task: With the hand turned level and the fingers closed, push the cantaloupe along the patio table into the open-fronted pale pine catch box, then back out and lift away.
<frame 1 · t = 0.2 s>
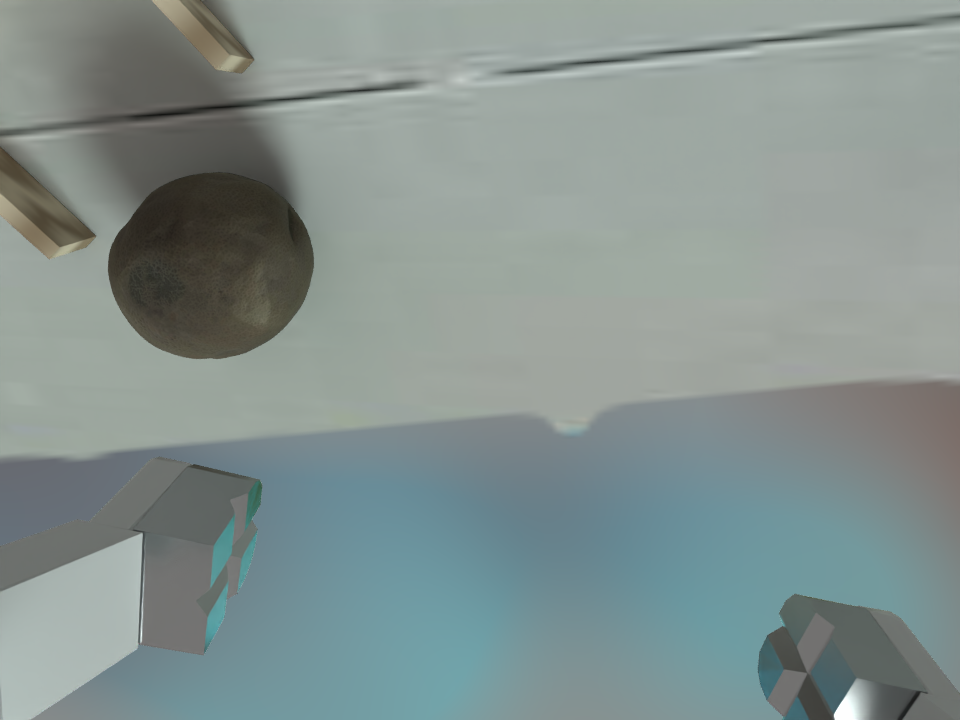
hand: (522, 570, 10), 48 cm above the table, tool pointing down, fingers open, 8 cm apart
cantaloupe: (255, 246, 57), on the table
catch box: (78, 71, 52), on the table
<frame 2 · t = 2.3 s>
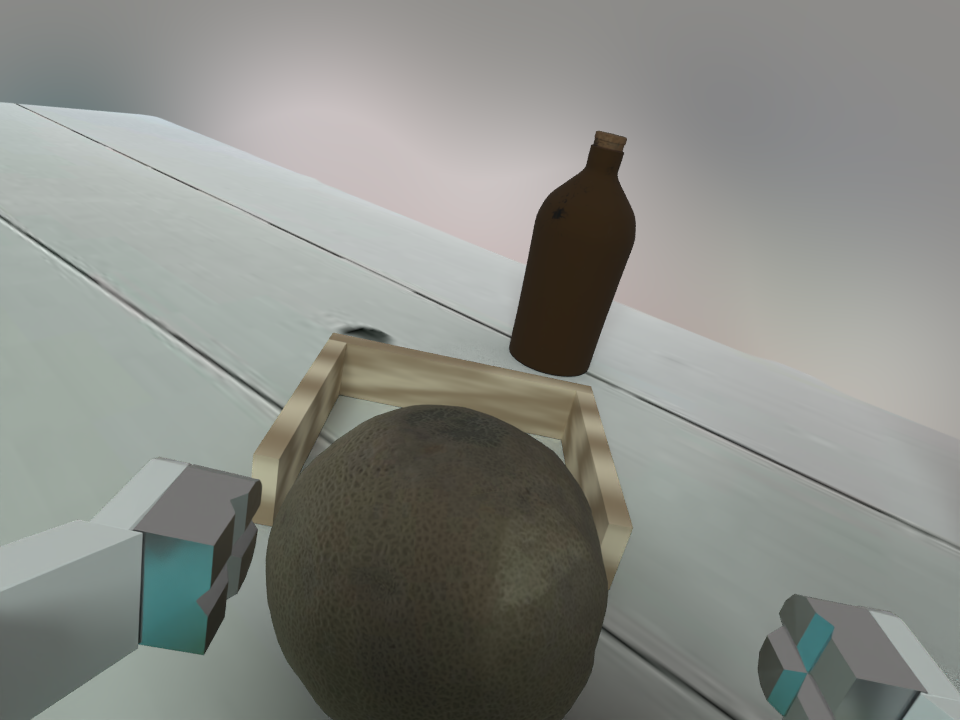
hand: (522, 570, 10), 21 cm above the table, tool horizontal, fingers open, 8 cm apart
olive oil: (548, 359, 74), on the table
cantaloupe: (410, 701, 31), on the table
catch box: (443, 475, 48), on the table
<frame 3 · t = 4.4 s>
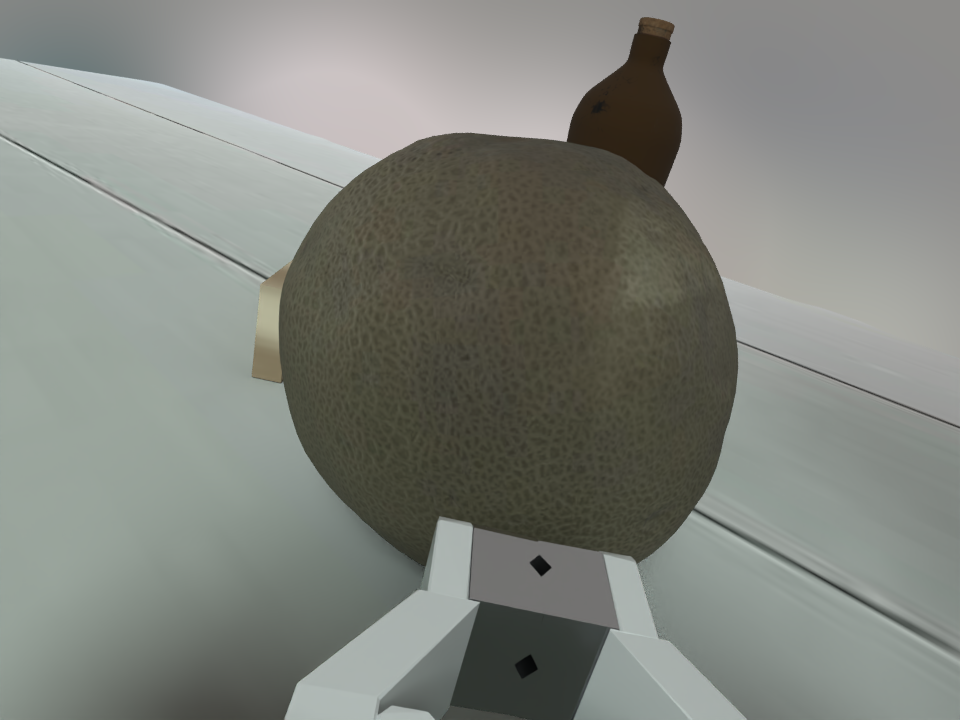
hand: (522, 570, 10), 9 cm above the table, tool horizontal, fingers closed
olive oil: (581, 284, 68), on the table
cantaloupe: (457, 553, 24), on the table
catch box: (477, 358, 42), on the table
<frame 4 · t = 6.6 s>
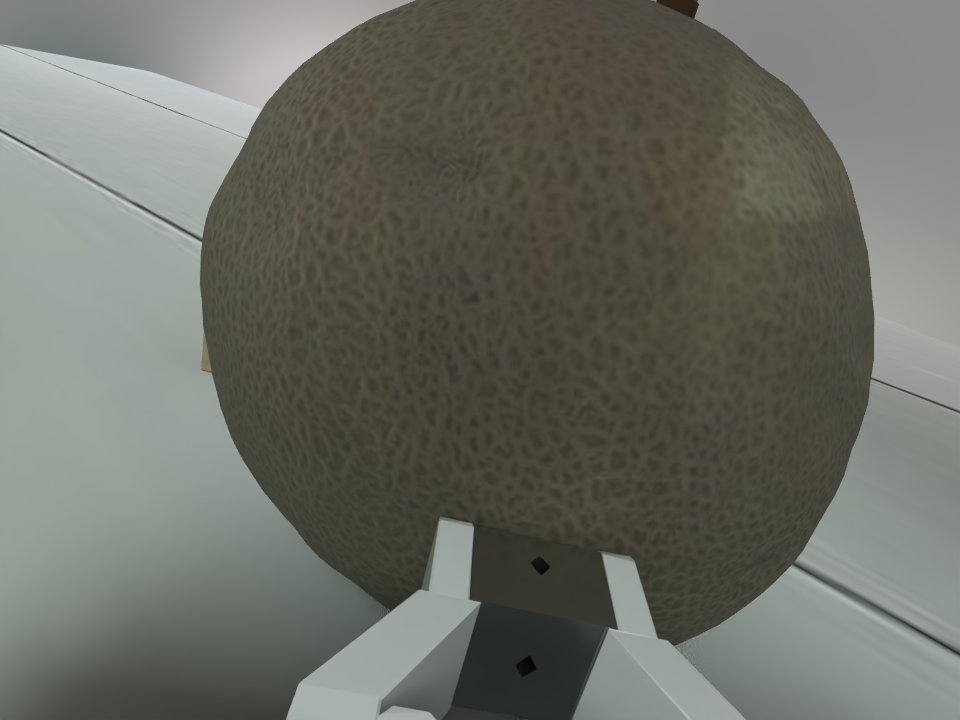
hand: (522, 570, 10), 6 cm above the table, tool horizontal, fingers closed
olive oil: (593, 276, 61), on the table
cantaloupe: (456, 593, 18), on the table, touching gripper
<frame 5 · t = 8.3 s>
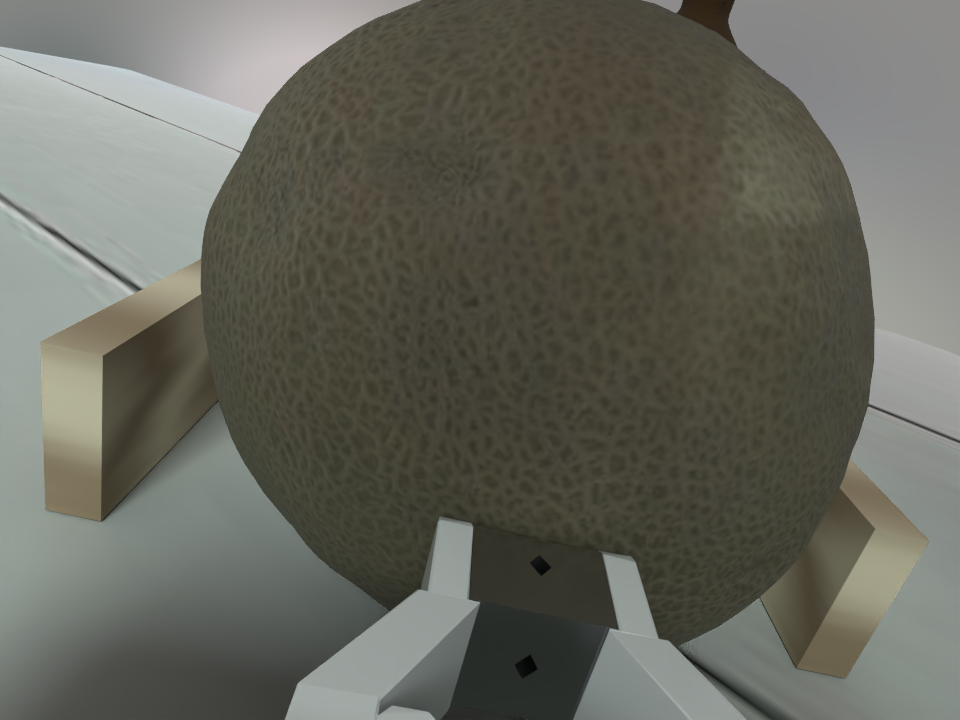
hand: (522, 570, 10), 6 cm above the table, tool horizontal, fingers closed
olive oil: (610, 306, 52), on the table
cantaloupe: (457, 594, 18), on the table, touching gripper
catch box: (473, 440, 26), on the table
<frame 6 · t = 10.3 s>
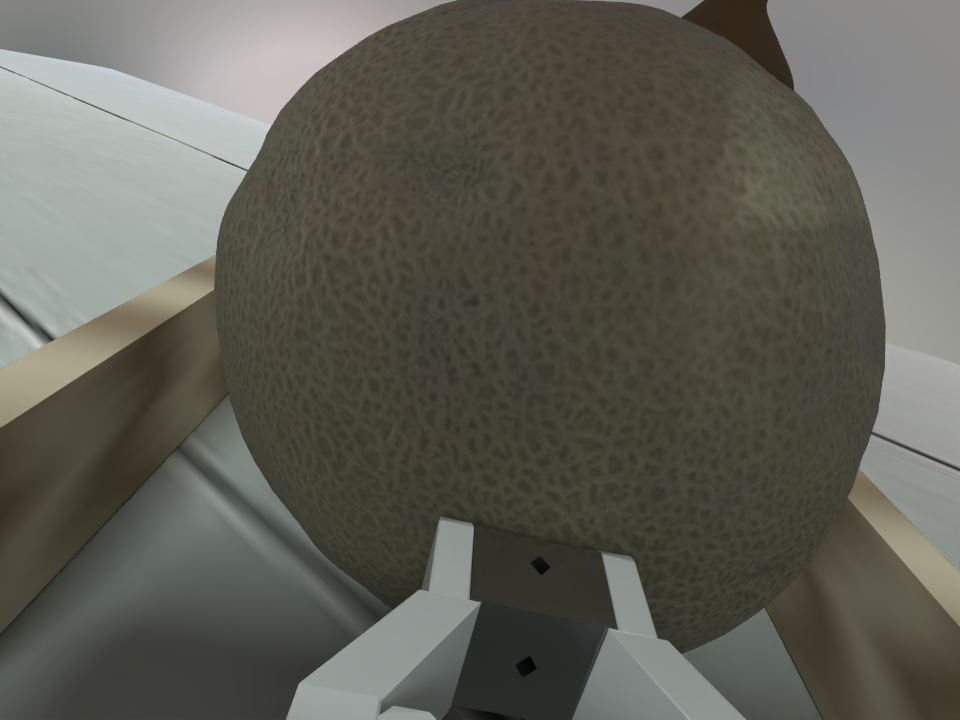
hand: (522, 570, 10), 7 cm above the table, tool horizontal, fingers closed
olive oil: (624, 335, 46), on the table
cantaloupe: (464, 598, 18), on the table, touching gripper
catch box: (464, 552, 20), on the table
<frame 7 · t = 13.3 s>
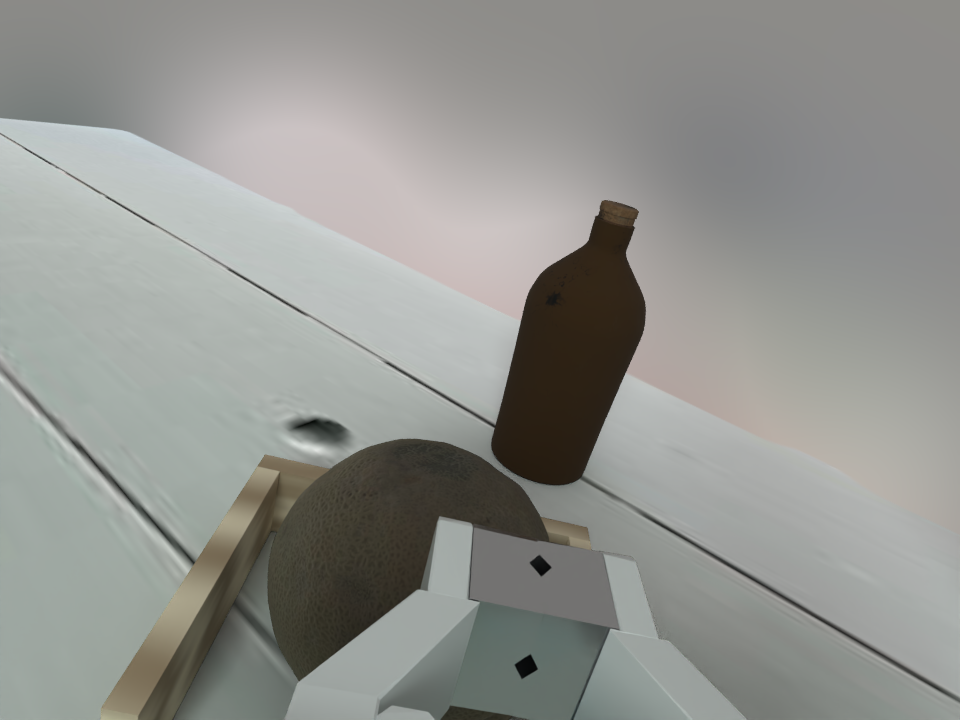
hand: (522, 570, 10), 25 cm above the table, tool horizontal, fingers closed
olive oil: (537, 458, 63), on the table
cantaloupe: (387, 697, 35), on the table
catch box: (391, 667, 37), on the table
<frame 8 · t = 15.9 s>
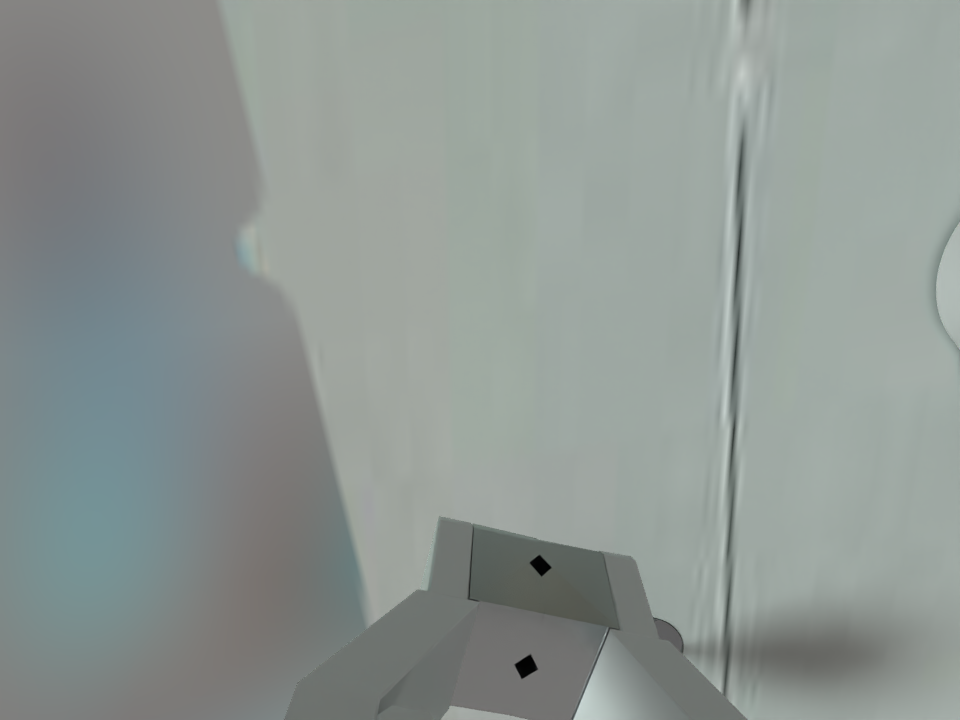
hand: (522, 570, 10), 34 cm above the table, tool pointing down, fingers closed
wine glass: (640, 647, 55), on the table
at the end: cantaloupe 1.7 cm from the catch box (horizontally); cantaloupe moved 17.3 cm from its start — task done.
